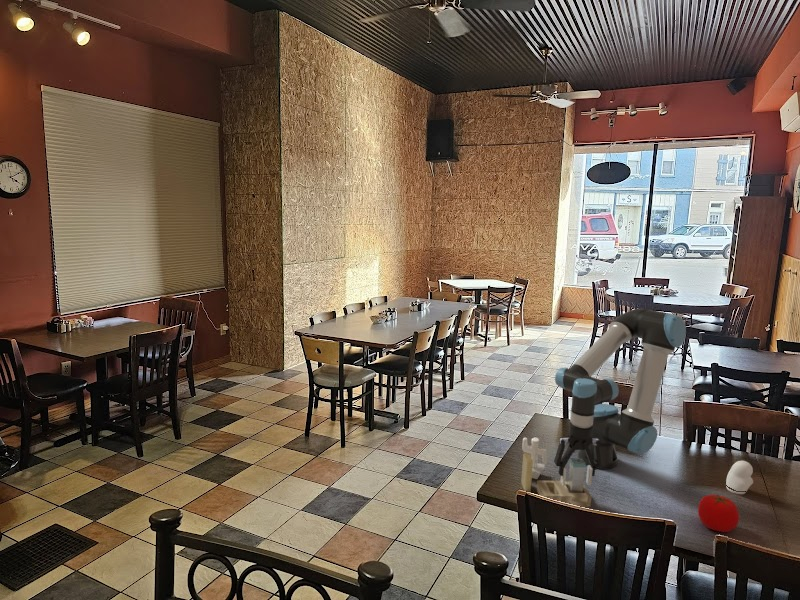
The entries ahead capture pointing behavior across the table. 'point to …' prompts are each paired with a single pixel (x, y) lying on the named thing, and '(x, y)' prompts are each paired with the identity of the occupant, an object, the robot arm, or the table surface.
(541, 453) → the figurine
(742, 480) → the figurine
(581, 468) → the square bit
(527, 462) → the pale yellow rectangular block
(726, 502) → the tomato
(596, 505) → the table surface
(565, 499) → the socket block
